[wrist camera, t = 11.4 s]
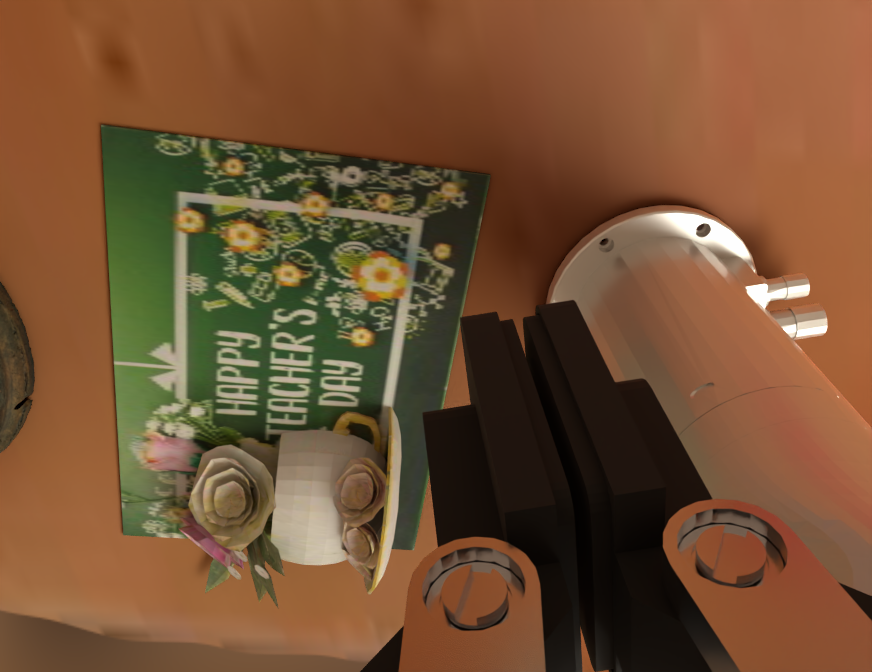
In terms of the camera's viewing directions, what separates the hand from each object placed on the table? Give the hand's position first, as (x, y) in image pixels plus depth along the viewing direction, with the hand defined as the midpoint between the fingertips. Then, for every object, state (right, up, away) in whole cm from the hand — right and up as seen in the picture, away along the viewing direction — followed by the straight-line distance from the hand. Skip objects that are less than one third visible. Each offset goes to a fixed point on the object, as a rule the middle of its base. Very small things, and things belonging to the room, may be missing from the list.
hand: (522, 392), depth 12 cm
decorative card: (-11, -3, +38) cm, 40 cm away
